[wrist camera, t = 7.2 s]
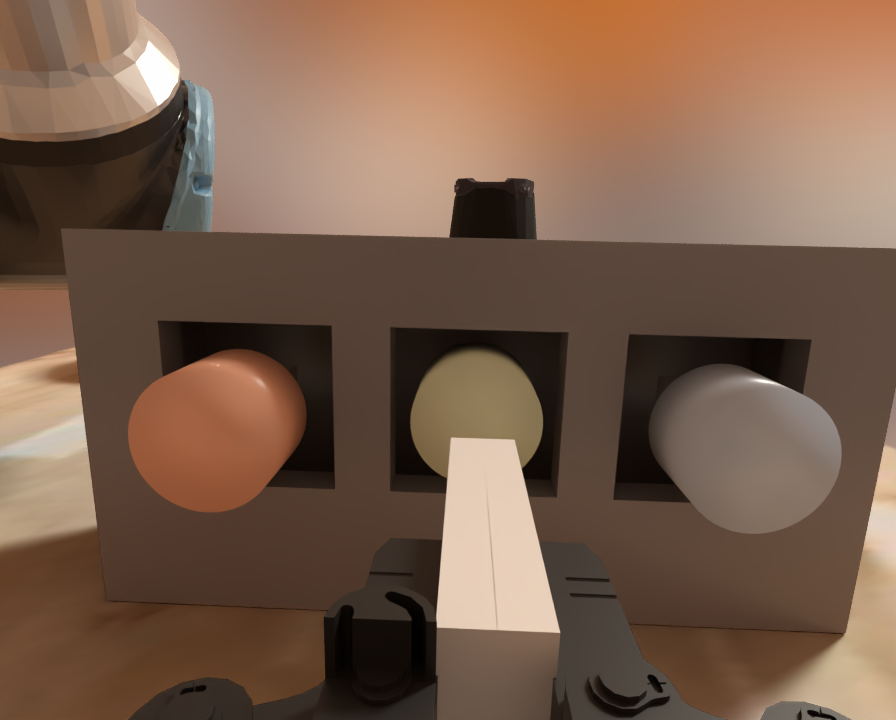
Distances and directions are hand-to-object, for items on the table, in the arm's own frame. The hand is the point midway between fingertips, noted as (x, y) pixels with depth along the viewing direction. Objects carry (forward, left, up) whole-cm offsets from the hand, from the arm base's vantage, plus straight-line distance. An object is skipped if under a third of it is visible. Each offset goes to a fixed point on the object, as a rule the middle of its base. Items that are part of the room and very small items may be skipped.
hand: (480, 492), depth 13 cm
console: (0, +10, -8) cm, 13 cm away
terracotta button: (-8, +6, -2) cm, 10 cm away
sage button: (0, +8, -2) cm, 9 cm away
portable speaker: (+2, +45, -8) cm, 46 cm away
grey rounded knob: (+8, +6, -2) cm, 10 cm away
